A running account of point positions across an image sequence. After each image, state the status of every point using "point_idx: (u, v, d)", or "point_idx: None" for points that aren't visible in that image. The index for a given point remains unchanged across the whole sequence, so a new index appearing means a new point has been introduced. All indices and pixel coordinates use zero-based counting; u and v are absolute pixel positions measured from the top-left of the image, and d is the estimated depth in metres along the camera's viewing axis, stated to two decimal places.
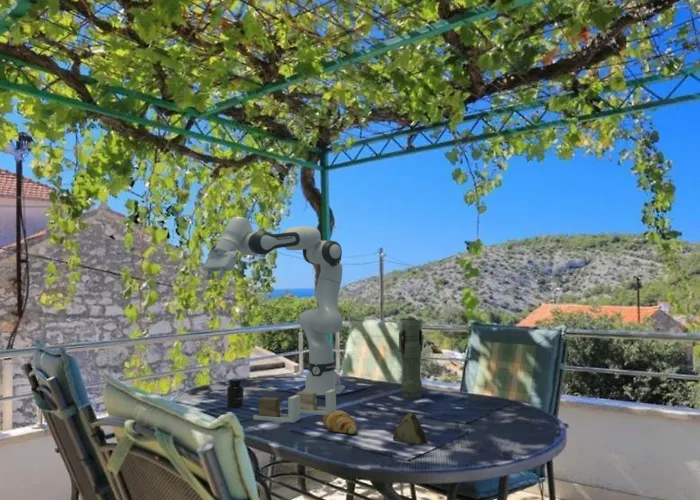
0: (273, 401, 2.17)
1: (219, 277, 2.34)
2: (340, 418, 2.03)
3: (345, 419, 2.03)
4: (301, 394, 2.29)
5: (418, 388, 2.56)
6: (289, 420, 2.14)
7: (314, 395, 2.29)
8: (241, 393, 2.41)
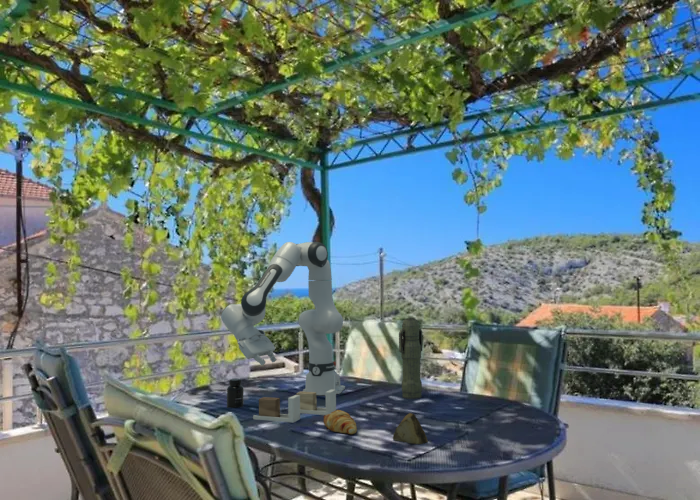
0: (273, 401, 2.17)
1: (261, 362, 2.31)
2: (340, 418, 2.03)
3: (345, 419, 2.03)
4: (301, 394, 2.29)
5: (418, 388, 2.56)
6: (289, 420, 2.14)
7: (314, 395, 2.29)
8: (241, 393, 2.41)
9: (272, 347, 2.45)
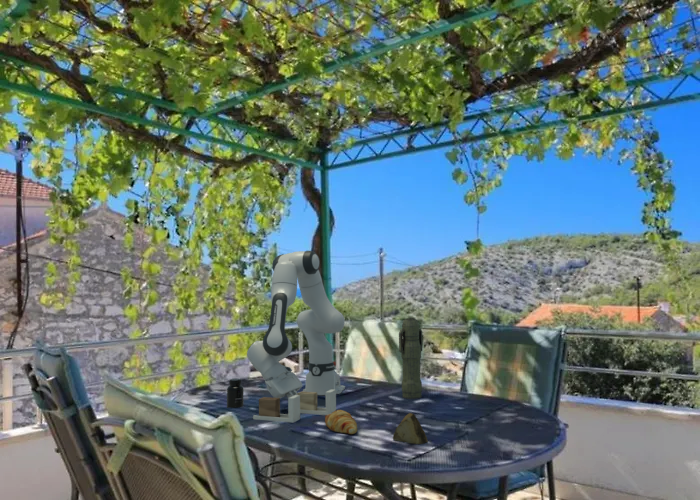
0: (273, 401, 2.17)
1: None
2: (341, 418, 2.03)
3: (346, 419, 2.03)
4: (302, 394, 2.29)
5: (418, 388, 2.56)
6: (289, 420, 2.14)
7: (315, 395, 2.29)
8: (241, 393, 2.41)
9: (299, 384, 2.40)
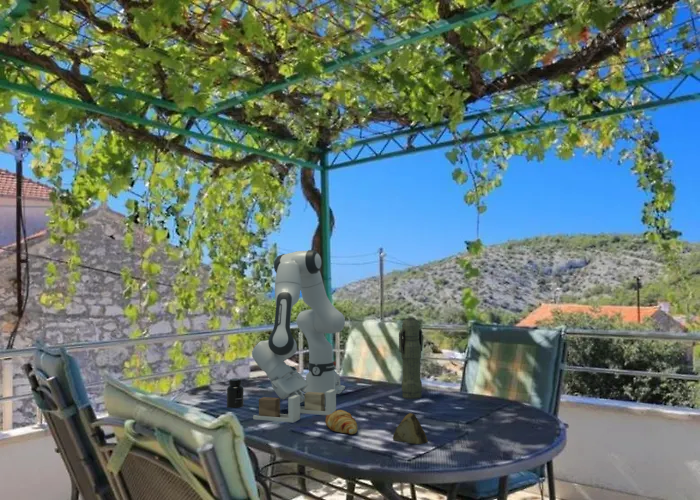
0: (273, 401, 2.17)
1: (300, 400, 2.29)
2: (341, 418, 2.03)
3: (346, 419, 2.03)
4: (309, 395, 2.28)
5: (418, 388, 2.56)
6: (289, 420, 2.14)
7: (322, 396, 2.28)
8: (241, 393, 2.41)
9: (305, 383, 2.39)
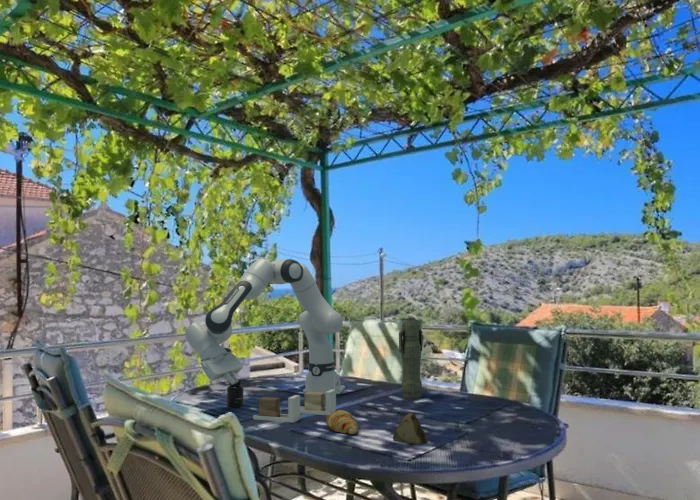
0: (273, 401, 2.17)
1: (232, 381, 2.25)
2: (341, 418, 2.03)
3: (346, 419, 2.03)
4: (309, 395, 2.28)
5: (418, 388, 2.56)
6: (289, 420, 2.14)
7: (322, 396, 2.28)
8: (241, 393, 2.41)
9: (239, 365, 2.34)
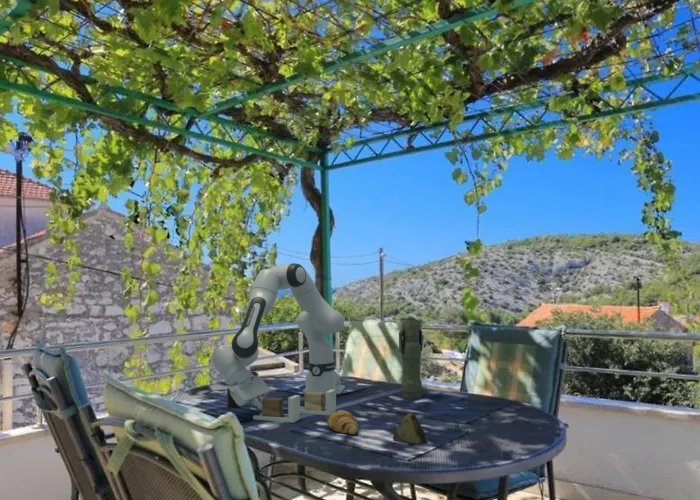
0: (276, 401, 2.17)
1: (260, 407, 2.20)
2: (342, 418, 2.03)
3: (347, 419, 2.03)
4: (309, 395, 2.28)
5: (418, 388, 2.56)
6: (289, 420, 2.14)
7: (322, 396, 2.28)
8: None
9: (266, 389, 2.29)
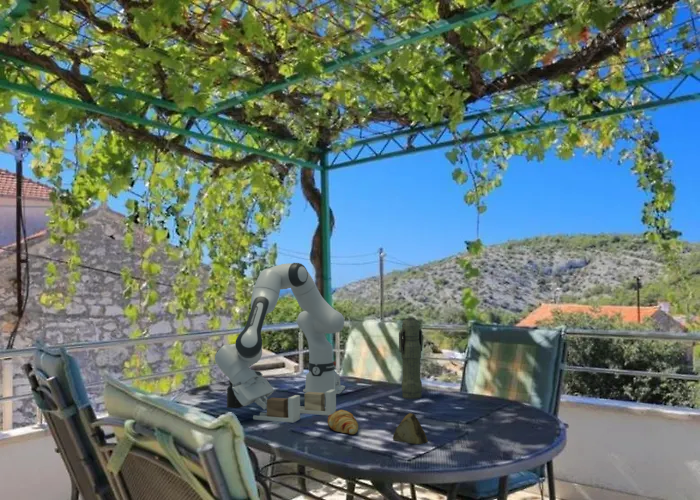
0: (281, 402, 2.16)
1: (264, 407, 2.19)
2: (342, 418, 2.03)
3: (347, 419, 2.03)
4: (309, 395, 2.28)
5: (418, 388, 2.56)
6: (289, 420, 2.14)
7: (322, 396, 2.28)
8: None
9: (270, 389, 2.29)
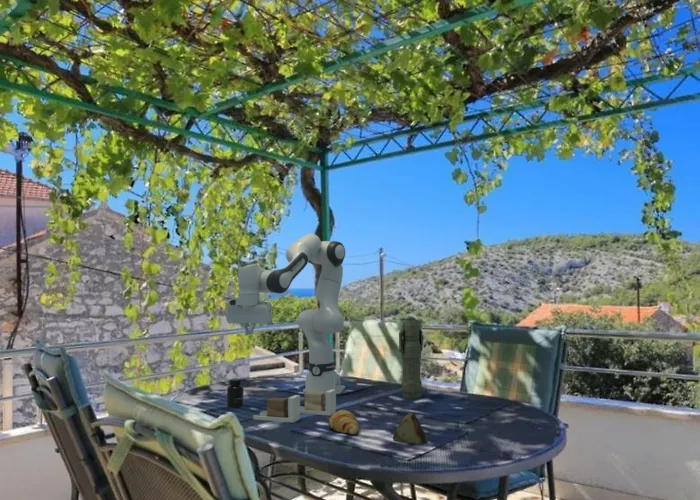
0: (281, 402, 2.16)
1: (252, 332, 2.41)
2: (343, 418, 2.03)
3: (347, 419, 2.03)
4: (309, 395, 2.28)
5: (418, 388, 2.56)
6: (289, 420, 2.14)
7: (322, 396, 2.28)
8: (241, 393, 2.41)
9: None
